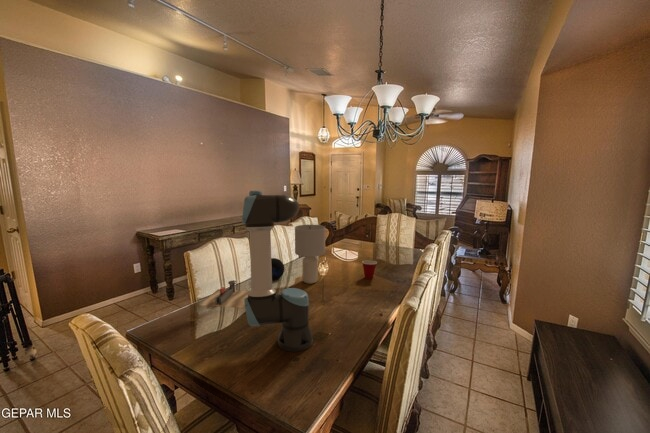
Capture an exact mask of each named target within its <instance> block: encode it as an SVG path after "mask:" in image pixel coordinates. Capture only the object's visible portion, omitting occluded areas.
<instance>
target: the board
mask: <svg viewBox="0 0 650 433" xmlns="http://www.w3.org/2000/svg"><path fill="white" fill-rule="evenodd" d="M220 289H221V288H219V289H216V290H215V291H214V292H213V293H212V294H211V295H209V297H207V298H206V299H205V300H203V302H201V303H200V304H199V306H201V307H202V306H205V307H206V306H207V307H219V308H220V307H223V308H239V309H240V308H241V309H245V301H244V299H245V298H246V297H248V292H249V291H250V290H239V289H238V290H237V289H235V292H234V293H233V294H232V295H231V296H230V297H229V298H228V299H227V300H226V301H225V302H224V303H223V304H222V305H219V303H218V304H217V305H215V297H216V296H217V295H219V294H220Z"/></svg>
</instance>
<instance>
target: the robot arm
mask: <svg viewBox="0 0 650 433" xmlns="http://www.w3.org/2000/svg"><path fill="white" fill-rule="evenodd" d="M248 194H249V195H247V196H246V197H244V200H243V207H242V217H241V223H242V224H243V225H245V229H246V230H247V231H248V232H249V250H250V251H249V252H250V255H249V256H250V257H249V258H250V282H251V285H250V286H251V288H250V290H248V291H249V292H248V297H246V298H245V299H244V301H245V308H244V309H245V315H246V319H247V324H248V325H249V326H250V327H261V326H267V325H274V324H281V328H280V331H279V333H278V336H277V343H278V346H279V348H280V349H282V350H283V351H286V352H293V353H296V352H302V351H305V350H308V348H310V347H311V346H312V344H313V338H314V336H313V333H312V330H311V327H310V325H309V323H310V322H309V320H310V319H309V316H310V314H309V313H310V312H309V307H310V300H309V294H308V293H307V292H306V291H305V290H303V289H300V288H297V287H288V288H284V289H283V290H281V293H280V294H279V293H278V294H277V290H276V289H275V288H274V287H273V280H272V264H271V258H272V242H271V241H272V237H271V231H272V230H273V229H274V227H275V223H283V222H287V221H289V220H291V219H293V218H295V217H296V216H297V215H298V213H299V211H300V204H299V202H298V200H297V199H296V198H295V197H294V196H293V197H292V196H290V195H288V194H267V195H266V194H263V191H262V190H249V192H248Z"/></svg>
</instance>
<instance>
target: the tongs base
mask: <svg viewBox="0 0 650 433" xmlns="http://www.w3.org/2000/svg"><path fill="white" fill-rule="evenodd" d="M235 285H236V284H233V293H234V292H235V290H236V288H235V287H236V286H235ZM228 289H230V286H228V287H227V288H225V292H226V291H227V290H228ZM225 292H224V293H225ZM224 293H220V294H219V295H217V296H216V297H215V305H217V304H218V303H219V297H220V296H222V295H223V294H224Z"/></svg>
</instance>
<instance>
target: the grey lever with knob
mask: <svg viewBox="0 0 650 433" xmlns="http://www.w3.org/2000/svg"><path fill="white" fill-rule="evenodd" d="M227 283H228V285H229V287H230V289H228V290H227V291H226V292H225V293H224V294H223V295H222V296H220V297H219V305H222V304H223V303H224V302H225V301H226V300H227V299H228V298H229V297H230V296H231V295H232V294H233V284H235V285H236V284H237V280H234V279H233V280H229V281H228V282H227Z"/></svg>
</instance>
